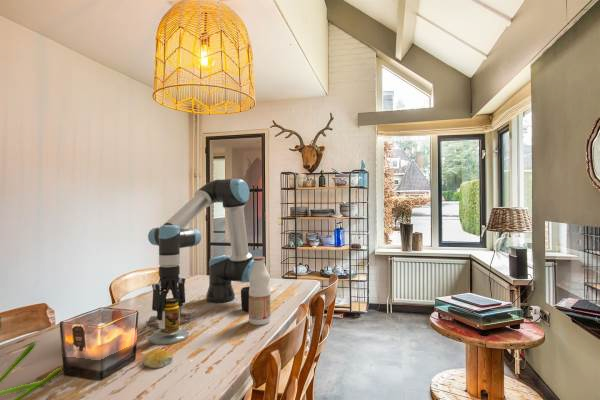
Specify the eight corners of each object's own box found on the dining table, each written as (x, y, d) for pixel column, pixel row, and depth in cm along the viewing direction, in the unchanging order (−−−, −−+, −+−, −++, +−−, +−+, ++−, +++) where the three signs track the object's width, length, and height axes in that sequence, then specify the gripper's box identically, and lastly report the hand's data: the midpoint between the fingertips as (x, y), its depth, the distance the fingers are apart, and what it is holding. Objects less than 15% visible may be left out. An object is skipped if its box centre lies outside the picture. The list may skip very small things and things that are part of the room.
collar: (191, 313, 163) (191, 309, 163) (189, 325, 146) (189, 321, 146) (152, 316, 159) (152, 312, 159) (145, 329, 142) (145, 325, 142)
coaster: (189, 329, 142) (189, 327, 142) (187, 342, 129) (187, 340, 129) (153, 332, 139) (153, 330, 139) (146, 346, 125) (146, 344, 125)
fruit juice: (252, 326, 145) (252, 259, 145) (246, 320, 153) (245, 256, 153) (273, 323, 149) (273, 258, 149) (266, 317, 157) (265, 255, 158)
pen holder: (264, 308, 171) (264, 287, 171) (252, 313, 163) (252, 292, 163) (248, 305, 175) (248, 285, 175) (236, 310, 167) (236, 289, 167)
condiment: (173, 334, 129) (173, 302, 129) (153, 333, 131) (153, 301, 131) (183, 327, 136) (183, 297, 136) (164, 326, 138) (164, 296, 138)
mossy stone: (159, 355, 119) (159, 343, 119) (177, 361, 114) (177, 349, 114) (137, 364, 112) (137, 352, 112) (154, 371, 107) (154, 358, 107)
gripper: (182, 261, 144) (182, 316, 144) (140, 268, 128) (140, 331, 127) (195, 262, 140) (195, 320, 140) (153, 270, 124) (153, 335, 124)
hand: (169, 325), depth 134 cm, fingers closed on condiment, 6 cm apart
